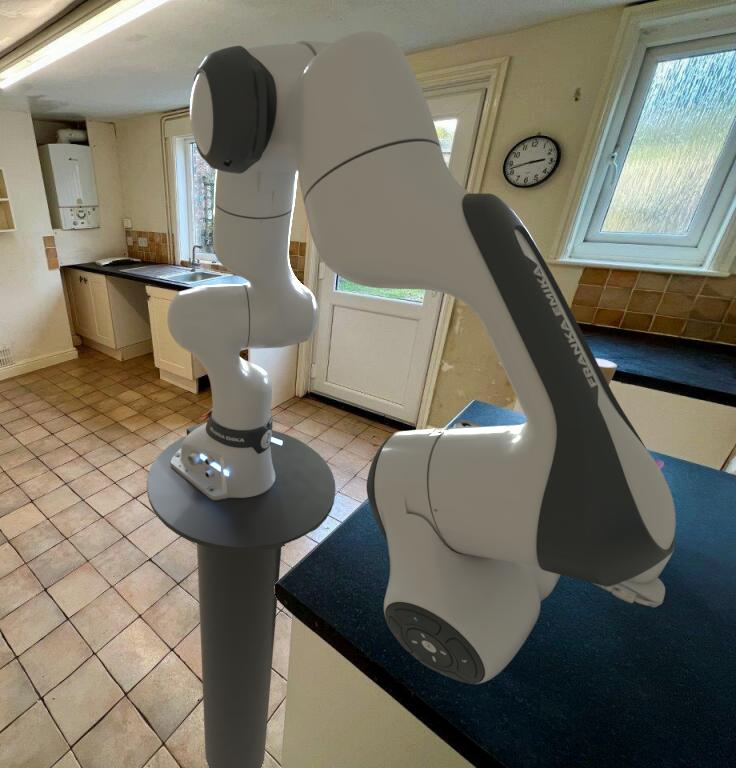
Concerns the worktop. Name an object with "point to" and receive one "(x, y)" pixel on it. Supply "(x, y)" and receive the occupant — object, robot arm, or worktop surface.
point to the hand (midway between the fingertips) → (552, 478)
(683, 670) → the worktop surface
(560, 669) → the worktop surface
